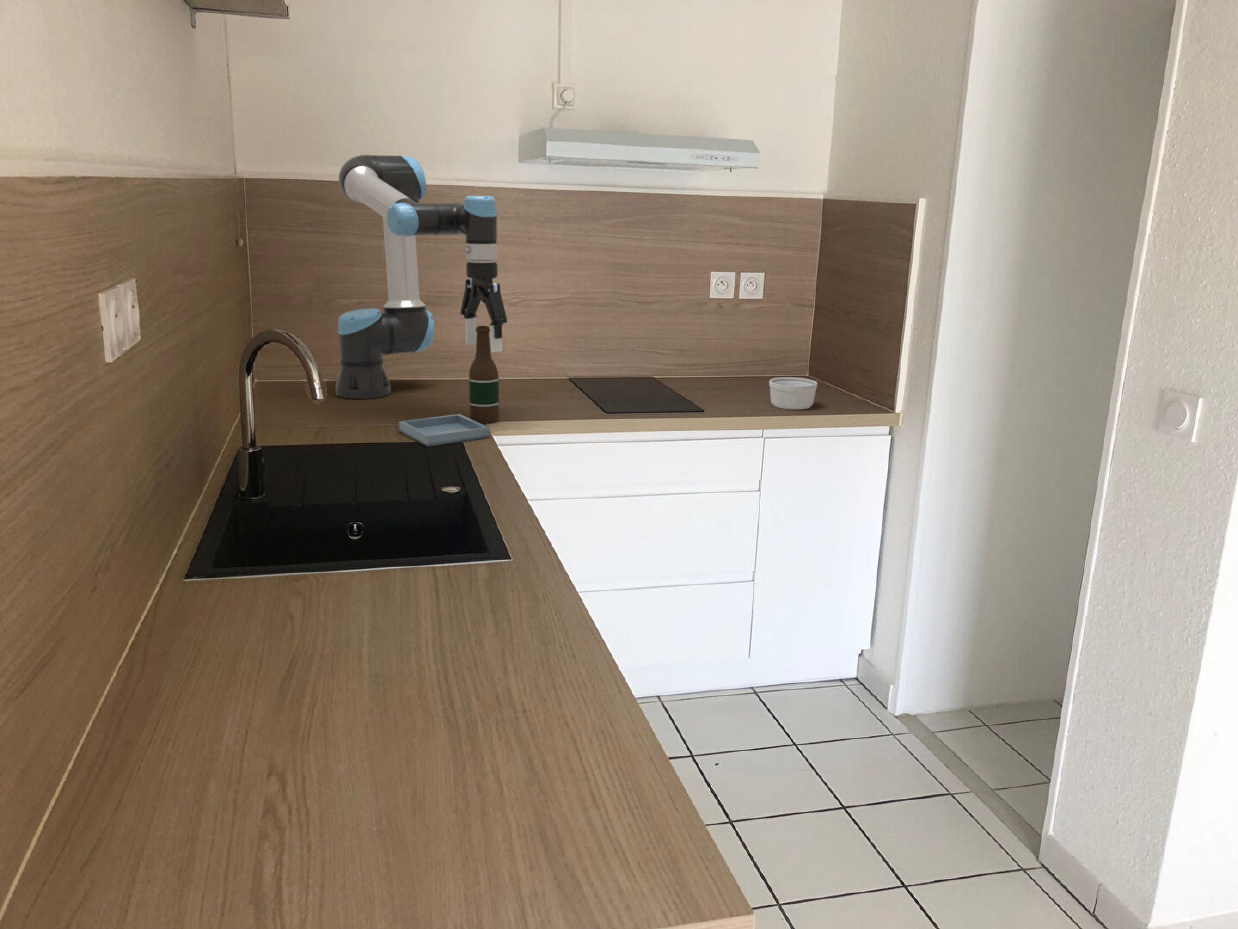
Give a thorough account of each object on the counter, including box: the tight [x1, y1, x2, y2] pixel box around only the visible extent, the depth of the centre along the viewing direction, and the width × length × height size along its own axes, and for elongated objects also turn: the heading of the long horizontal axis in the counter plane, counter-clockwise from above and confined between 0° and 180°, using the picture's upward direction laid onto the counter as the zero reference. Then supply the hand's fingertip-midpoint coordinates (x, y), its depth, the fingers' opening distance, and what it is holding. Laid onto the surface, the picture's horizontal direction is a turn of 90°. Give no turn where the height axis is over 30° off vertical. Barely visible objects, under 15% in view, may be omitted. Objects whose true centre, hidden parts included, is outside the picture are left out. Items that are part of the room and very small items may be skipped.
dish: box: [398, 413, 490, 448], centre depth 235 cm, size 16×16×2 cm
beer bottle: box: [468, 325, 500, 425], centre depth 246 cm, size 8×8×24 cm
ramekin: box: [768, 376, 818, 411], centre depth 273 cm, size 13×13×7 cm
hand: (483, 347), depth 244 cm, fingers open, 13 cm apart
